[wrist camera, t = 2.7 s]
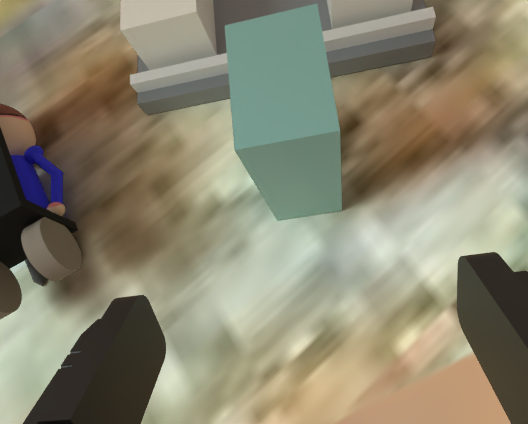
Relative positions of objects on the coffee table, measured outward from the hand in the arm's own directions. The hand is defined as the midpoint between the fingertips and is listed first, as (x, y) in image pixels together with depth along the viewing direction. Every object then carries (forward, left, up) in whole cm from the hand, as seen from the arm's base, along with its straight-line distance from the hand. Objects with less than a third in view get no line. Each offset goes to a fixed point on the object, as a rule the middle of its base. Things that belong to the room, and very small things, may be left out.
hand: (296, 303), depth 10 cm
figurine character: (-6, +20, -13) cm, 25 cm away
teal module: (+7, +6, -13) cm, 16 cm away
